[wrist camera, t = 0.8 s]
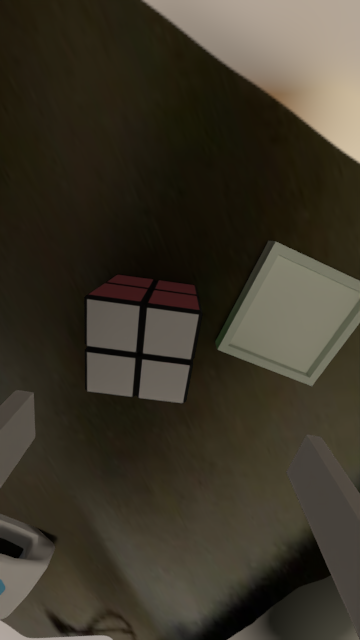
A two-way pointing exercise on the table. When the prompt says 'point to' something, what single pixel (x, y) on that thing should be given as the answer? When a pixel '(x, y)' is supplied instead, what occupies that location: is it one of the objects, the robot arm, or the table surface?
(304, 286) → the baseplate
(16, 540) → the step stool
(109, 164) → the table surface
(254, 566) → the table surface
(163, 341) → the puzzle cube
